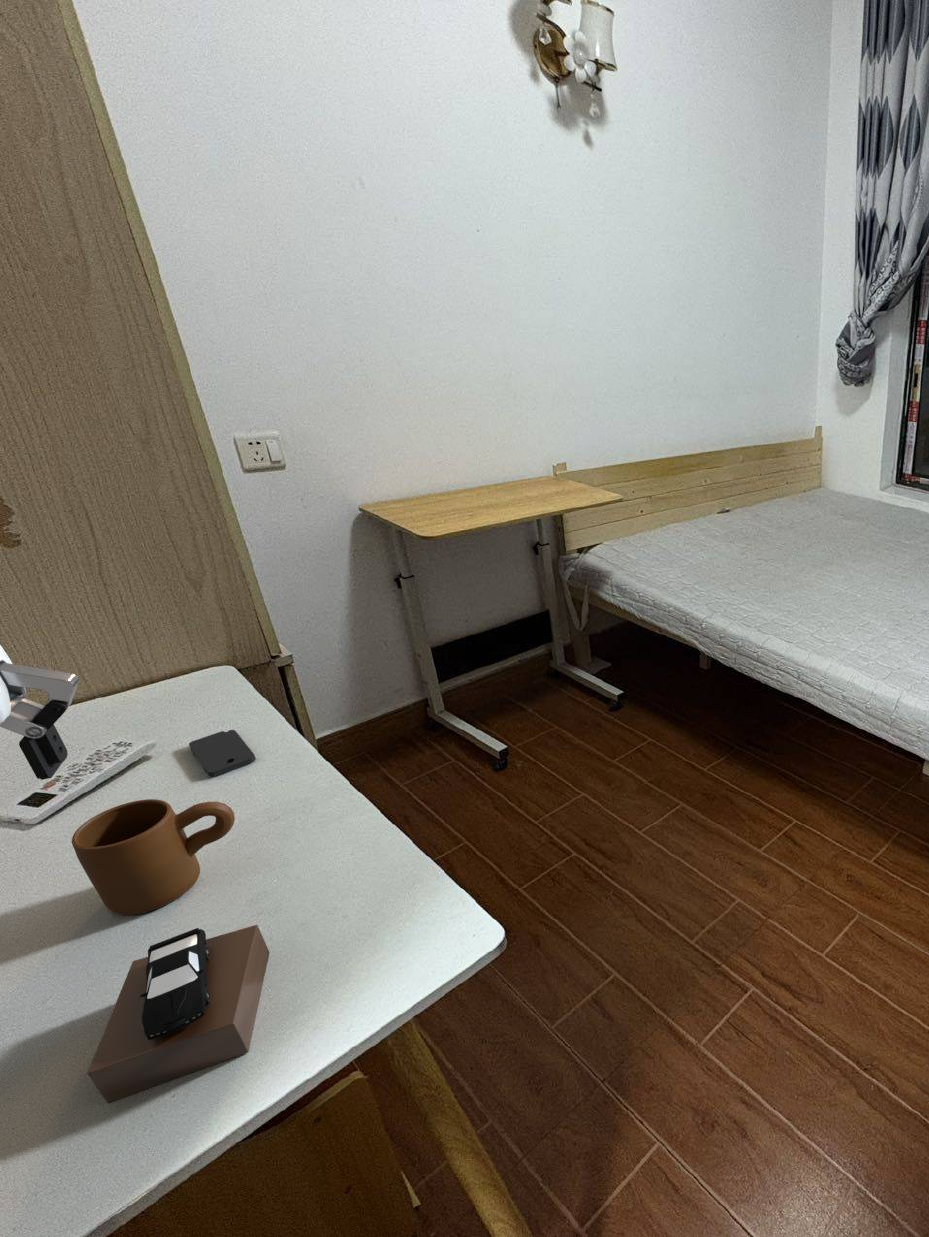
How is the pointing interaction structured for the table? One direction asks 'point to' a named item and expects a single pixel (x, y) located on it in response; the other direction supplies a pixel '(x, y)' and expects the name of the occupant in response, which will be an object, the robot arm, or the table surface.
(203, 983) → the toy car
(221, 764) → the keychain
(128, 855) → the mug
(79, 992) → the table surface
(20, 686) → the robot arm
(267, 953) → the walnut block
